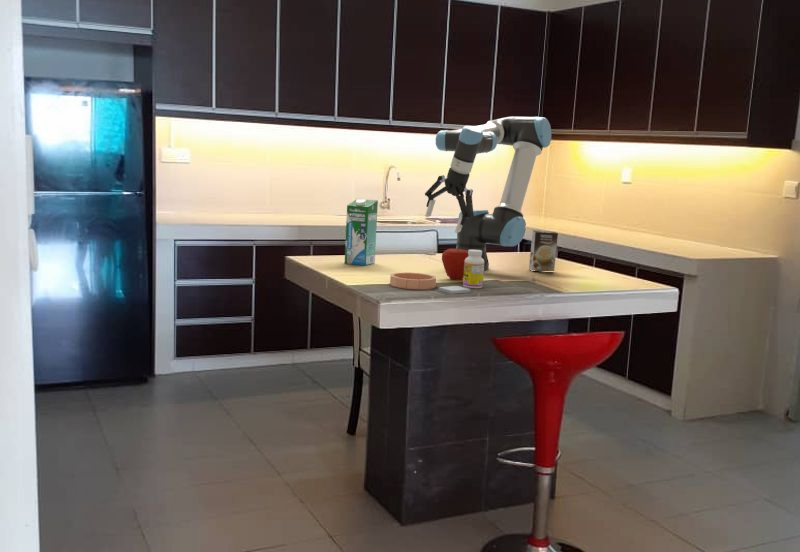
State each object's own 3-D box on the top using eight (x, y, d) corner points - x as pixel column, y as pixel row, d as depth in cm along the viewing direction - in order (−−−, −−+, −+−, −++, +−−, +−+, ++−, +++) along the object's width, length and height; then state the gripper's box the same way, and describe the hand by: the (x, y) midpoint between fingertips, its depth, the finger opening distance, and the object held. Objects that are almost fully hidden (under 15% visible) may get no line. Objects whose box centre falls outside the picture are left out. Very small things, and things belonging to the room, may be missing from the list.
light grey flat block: (457, 288, 254) (457, 285, 254) (470, 292, 249) (470, 289, 249) (438, 290, 249) (438, 287, 249) (451, 293, 244) (451, 290, 244)
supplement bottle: (461, 285, 264) (463, 248, 262) (480, 286, 264) (483, 249, 262) (464, 289, 257) (467, 251, 255) (484, 290, 258) (486, 252, 256)
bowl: (420, 282, 266) (421, 272, 266) (443, 290, 253) (444, 279, 253) (382, 283, 259) (382, 273, 258) (404, 291, 246) (404, 280, 246)
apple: (435, 277, 278) (437, 244, 276) (461, 277, 282) (464, 244, 280) (449, 283, 268) (451, 248, 266) (476, 282, 272) (478, 248, 270)
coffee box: (531, 272, 306) (535, 231, 304) (528, 269, 312) (531, 230, 310) (554, 273, 306) (558, 233, 304) (551, 270, 313) (554, 231, 310)
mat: (461, 289, 256) (462, 288, 256) (477, 294, 248) (477, 293, 248) (431, 291, 250) (431, 289, 250) (445, 296, 242) (446, 294, 242)
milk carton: (344, 263, 301) (347, 199, 297) (354, 260, 310) (357, 198, 306) (365, 265, 298) (368, 200, 294) (374, 263, 306) (378, 200, 302)
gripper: (426, 157, 275) (410, 211, 284) (483, 185, 264) (465, 240, 272) (437, 155, 281) (421, 208, 289) (494, 183, 269) (475, 237, 278)
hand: (442, 224), depth 281 cm, fingers open, 13 cm apart
